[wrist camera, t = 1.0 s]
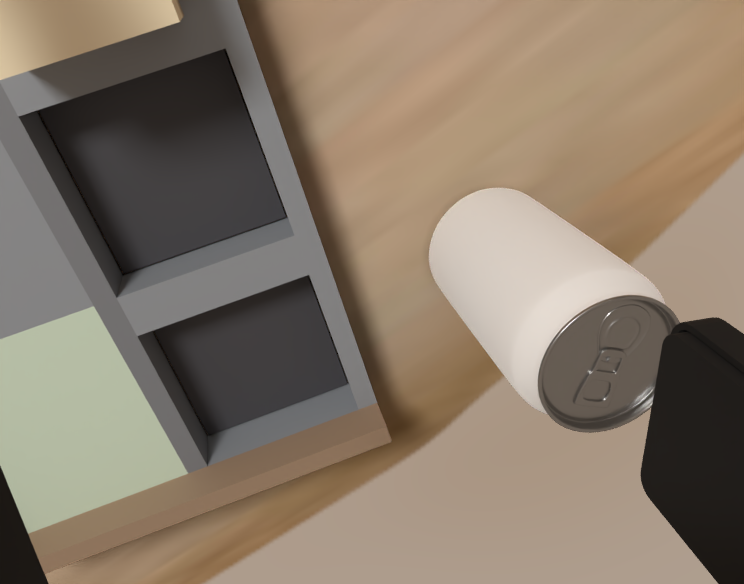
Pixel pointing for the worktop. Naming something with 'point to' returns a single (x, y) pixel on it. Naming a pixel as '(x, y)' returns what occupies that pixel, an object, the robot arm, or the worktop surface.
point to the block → (73, 28)
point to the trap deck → (162, 293)
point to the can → (552, 308)
